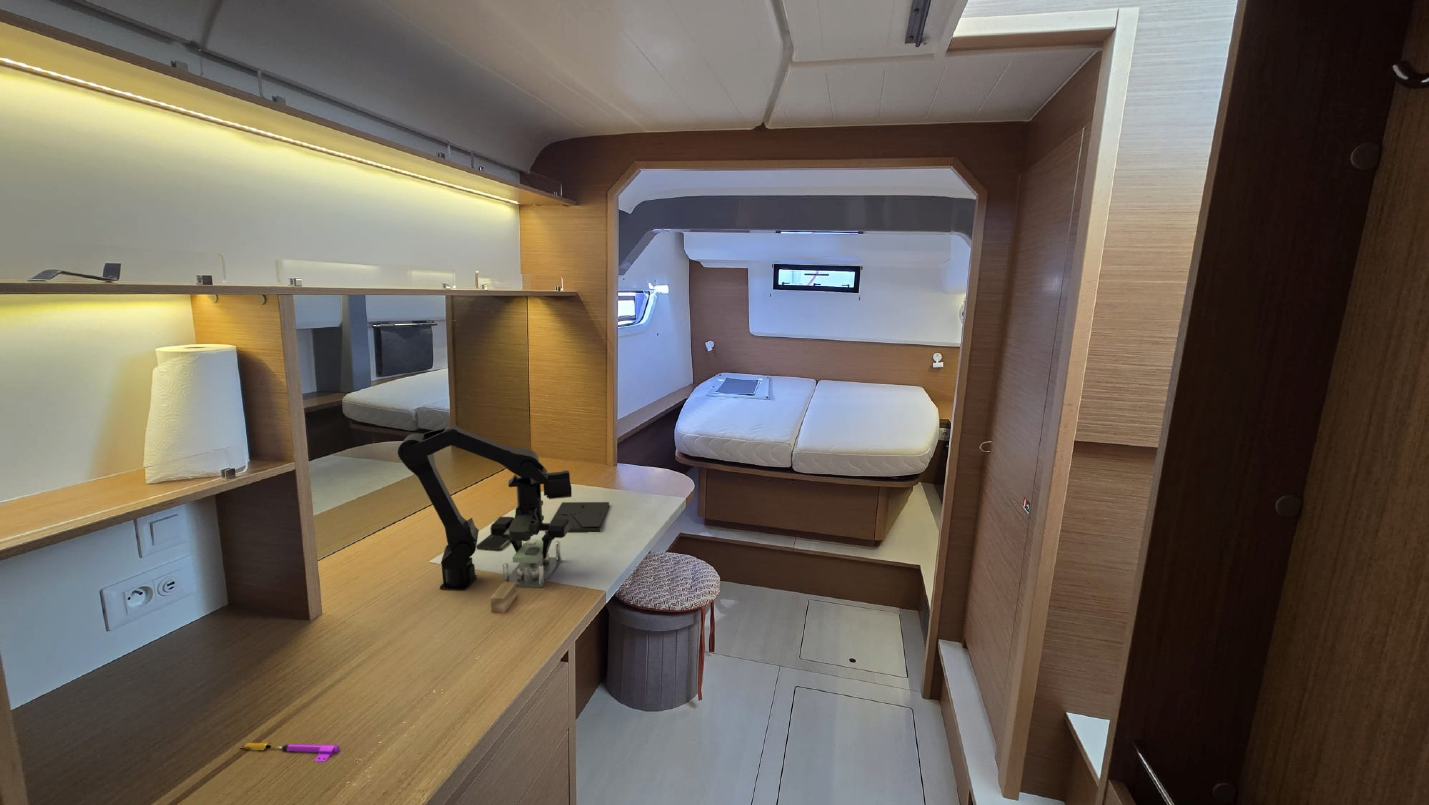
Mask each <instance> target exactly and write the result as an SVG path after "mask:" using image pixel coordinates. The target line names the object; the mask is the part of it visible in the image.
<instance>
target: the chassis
mask: <svg viewBox="0 0 1429 805" xmlns="http://www.w3.org/2000/svg"><path fill="white" fill-rule="evenodd" d="M525 542H526V541H522V545H523V544H524V543H525ZM554 544H555V556H550V554H549V553H548V554H547V556H546V558H545V559H543V556H542V557H541V558H540V560H539V561H538V562H537V563H518V565H516V566H515V568H514V569H513V571H512V572H511V573H510V574H509V564H508V563H503V564H502V574H503V582H516V588H538V589H539V588H544V587H545V586H546V584H547V583H548V581H549V580H550V579H551V577H552V576H553V574H554V572H555V570H556V569H557V568H558V566H559V565H560V564H561V562H562V556H561V552H562V551H561V541H555V542H554Z"/></svg>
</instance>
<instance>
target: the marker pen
mask: <svg viewBox="0 0 1429 805" xmlns="http://www.w3.org/2000/svg"><path fill="white" fill-rule="evenodd" d="M245 744H246V745H245V747H250V748H257V749H265V750H266V749H267V748H266V746H267V744H271V742H259V743H258V742H247V743H245ZM278 747H279V748H278V749H281V751H283V750H286V751H287V752H290V751H294V753H295V752H298V753H318V755H317V756H316V757H315V760H314V762H315V763H317V762H318V763H326V762H327V761H328V759H330V757H331V756H332V755H334V754H336V753H338V752H339V751H340V750H341V747H340V745H337V744H303V743H302V744H300V743H298V744H295V743H290V744H284V745H282V746H278ZM286 751H285V752H286Z"/></svg>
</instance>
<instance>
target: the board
mask: <svg viewBox="0 0 1429 805" xmlns="http://www.w3.org/2000/svg"><path fill="white" fill-rule="evenodd" d="M542 556H543V541H542V539H535V538H534V539H531V538H530V540H528V541H526V542H525V543H524V544H523V543H522V547H521V548H520V549H519V550H518V551H517V553H516V552H515V553H514V555H513V556H512V563H518V564H519V563H537V562H538V561H539V560H540V558H541V557H542Z"/></svg>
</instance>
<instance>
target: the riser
mask: <svg viewBox="0 0 1429 805" xmlns="http://www.w3.org/2000/svg"><path fill="white" fill-rule="evenodd" d="M516 597H517V587H516V582H504V581H503V582H502V583H501V584H500V586H499V587H498V588H497V589H496V591H495V592H494V593H493V594H492V596H491V597H490V608H491V609H490V610H491V613H505V612H507V610H508V609H509V607H510V606H511V604H512V603H514V602H513V601H514V600H515V599H516Z"/></svg>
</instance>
